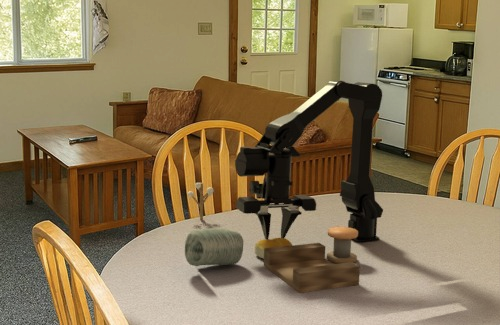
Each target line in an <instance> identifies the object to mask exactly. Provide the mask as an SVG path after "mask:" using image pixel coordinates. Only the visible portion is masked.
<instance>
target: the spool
mask: <svg viewBox="0 0 500 325" xmlns="http://www.w3.org/2000/svg"><path fill="white" fill-rule="evenodd" d="M185 238H186V239H185V243H184V257H185V259H186V262H187V263H188V264H189V265H190V266H194V267H199V266H200V267H201V266H211V265H212V266H216V265H218V266H223V265H224V266H225V265H228V266H229V265H235V264H236V265H237V264H238V263H239V262H240V261H241V260H242V259H241V258H242V256H243V252H244V238H243V236H242V235H241V233H240V232H239V231H236V230H234V229H230V228H220V227H219V228H218V227H216V228H215V227H213V228H212V227H211V228H202V229H194V230H191V231H190V232H189V233H188V234H187V236H186V237H185Z"/></svg>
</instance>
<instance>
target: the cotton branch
mask: <svg viewBox="0 0 500 325" xmlns="http://www.w3.org/2000/svg"><path fill="white" fill-rule="evenodd" d="M194 187H195V188H196V189H197V190H198V192H199V201H198V200H197V199H196V197H195V193H194V192H193V191H192V190H190V191H188V192H187V197H188V198H192V199H193V200H194V201H195V203H196V204H197V206H198V207H199V221H203V220H204V204H205V202H206V201H207V199H208V198H209V197H211V196H212V195H213V193H214V191H215V190H214V188H213V187H211V186H210V187H207V188H206V193H205V194H204V188H205V186H204V183H203V182H196V183H195V185H194Z"/></svg>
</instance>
